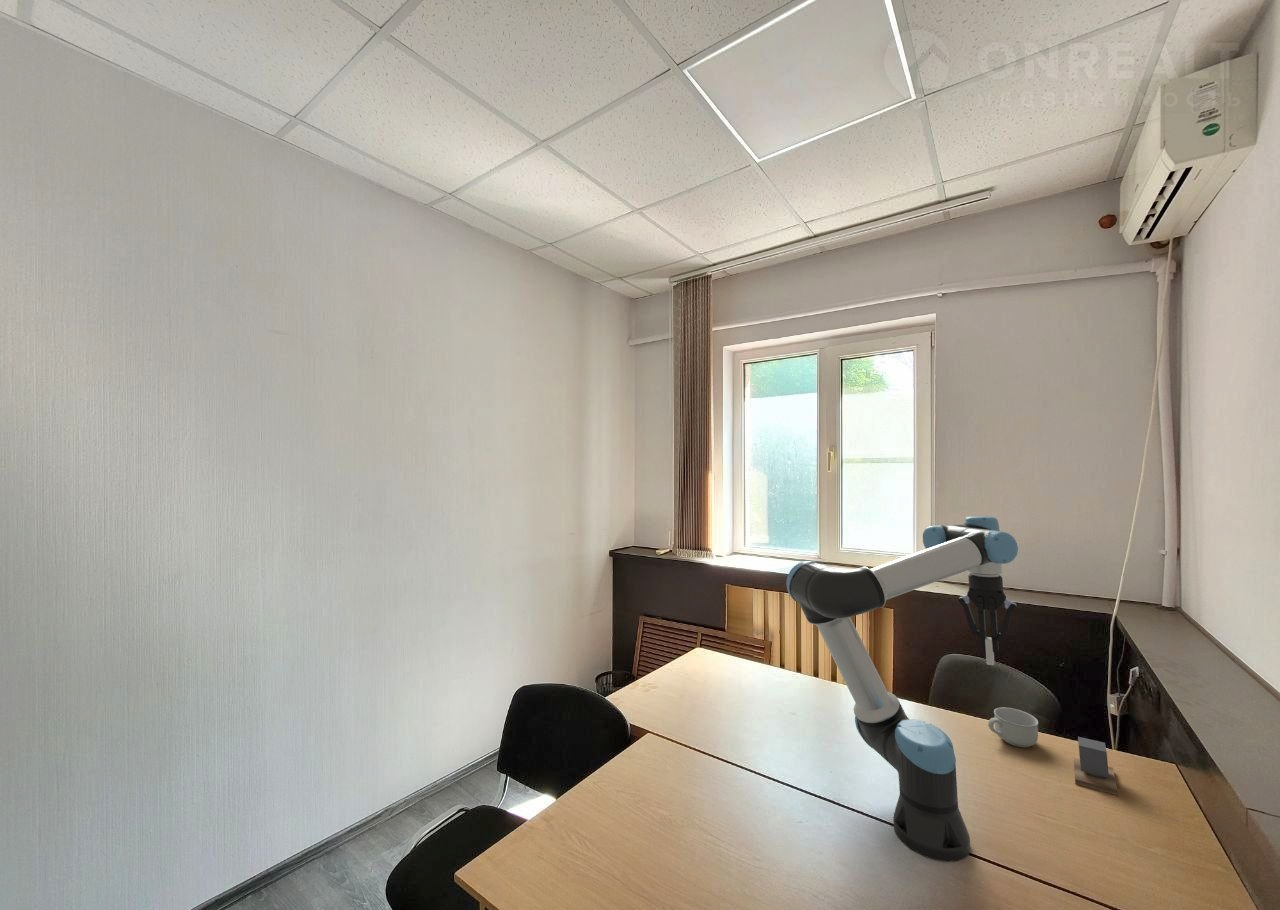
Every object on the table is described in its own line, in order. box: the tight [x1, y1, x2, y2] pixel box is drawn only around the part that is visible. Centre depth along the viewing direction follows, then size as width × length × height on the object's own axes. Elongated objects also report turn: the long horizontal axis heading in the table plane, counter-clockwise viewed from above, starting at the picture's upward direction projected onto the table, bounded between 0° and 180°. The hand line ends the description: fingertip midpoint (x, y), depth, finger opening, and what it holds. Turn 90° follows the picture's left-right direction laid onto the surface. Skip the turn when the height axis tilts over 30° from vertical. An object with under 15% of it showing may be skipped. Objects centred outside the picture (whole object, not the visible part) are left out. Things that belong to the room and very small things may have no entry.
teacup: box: [987, 706, 1039, 748], centre depth 148 cm, size 14×11×8 cm
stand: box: [1072, 757, 1119, 796], centre depth 130 cm, size 12×8×8 cm, turn 140°
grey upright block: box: [1077, 736, 1109, 778], centre depth 130 cm, size 5×5×7 cm
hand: (990, 663), depth 130 cm, fingers closed
